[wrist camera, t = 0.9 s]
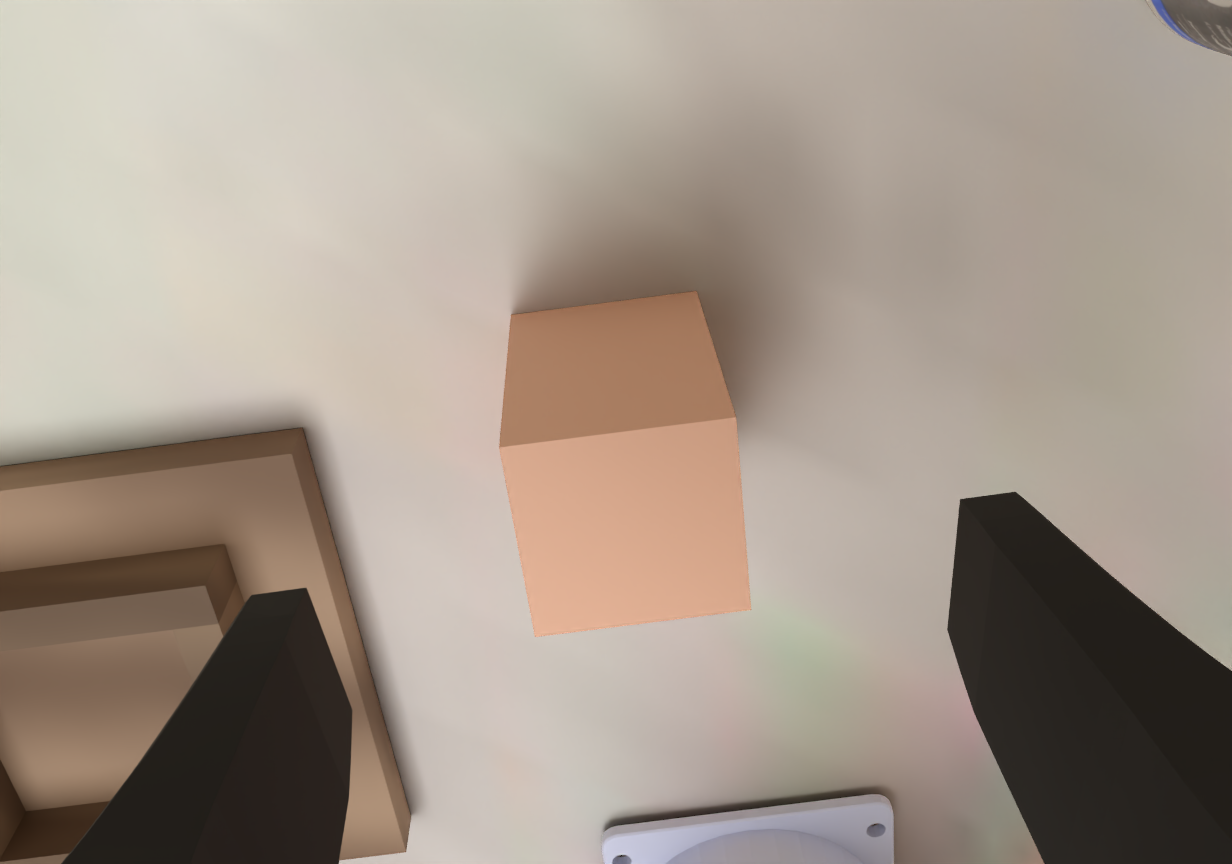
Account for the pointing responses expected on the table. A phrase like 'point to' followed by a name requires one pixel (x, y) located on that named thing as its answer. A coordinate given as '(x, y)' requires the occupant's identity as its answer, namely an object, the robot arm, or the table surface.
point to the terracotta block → (622, 466)
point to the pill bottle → (1198, 21)
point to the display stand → (157, 622)
